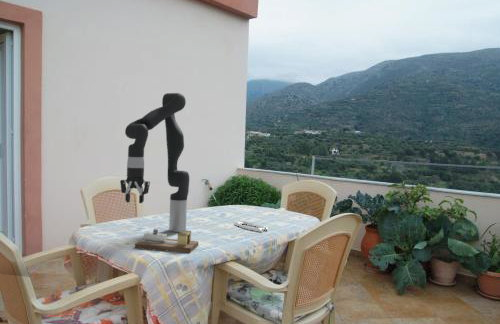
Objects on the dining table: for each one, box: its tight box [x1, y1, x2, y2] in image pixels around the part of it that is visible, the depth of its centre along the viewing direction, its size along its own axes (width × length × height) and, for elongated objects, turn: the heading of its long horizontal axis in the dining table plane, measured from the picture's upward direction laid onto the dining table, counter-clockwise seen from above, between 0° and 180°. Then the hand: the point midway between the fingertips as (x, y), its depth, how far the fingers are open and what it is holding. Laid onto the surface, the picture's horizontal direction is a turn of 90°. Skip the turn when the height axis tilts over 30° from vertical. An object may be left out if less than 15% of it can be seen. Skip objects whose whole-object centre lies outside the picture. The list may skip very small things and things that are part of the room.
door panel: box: [134, 238, 199, 254], centre depth 162 cm, size 12×26×2 cm, turn 81°
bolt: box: [143, 228, 168, 242], centre depth 163 cm, size 3×10×5 cm, turn 81°
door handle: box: [233, 220, 269, 233], centre depth 209 cm, size 3×10×25 cm
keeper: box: [176, 230, 192, 246], centre depth 160 cm, size 7×4×5 cm, turn 171°
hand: (134, 202), depth 164 cm, fingers open, 5 cm apart
